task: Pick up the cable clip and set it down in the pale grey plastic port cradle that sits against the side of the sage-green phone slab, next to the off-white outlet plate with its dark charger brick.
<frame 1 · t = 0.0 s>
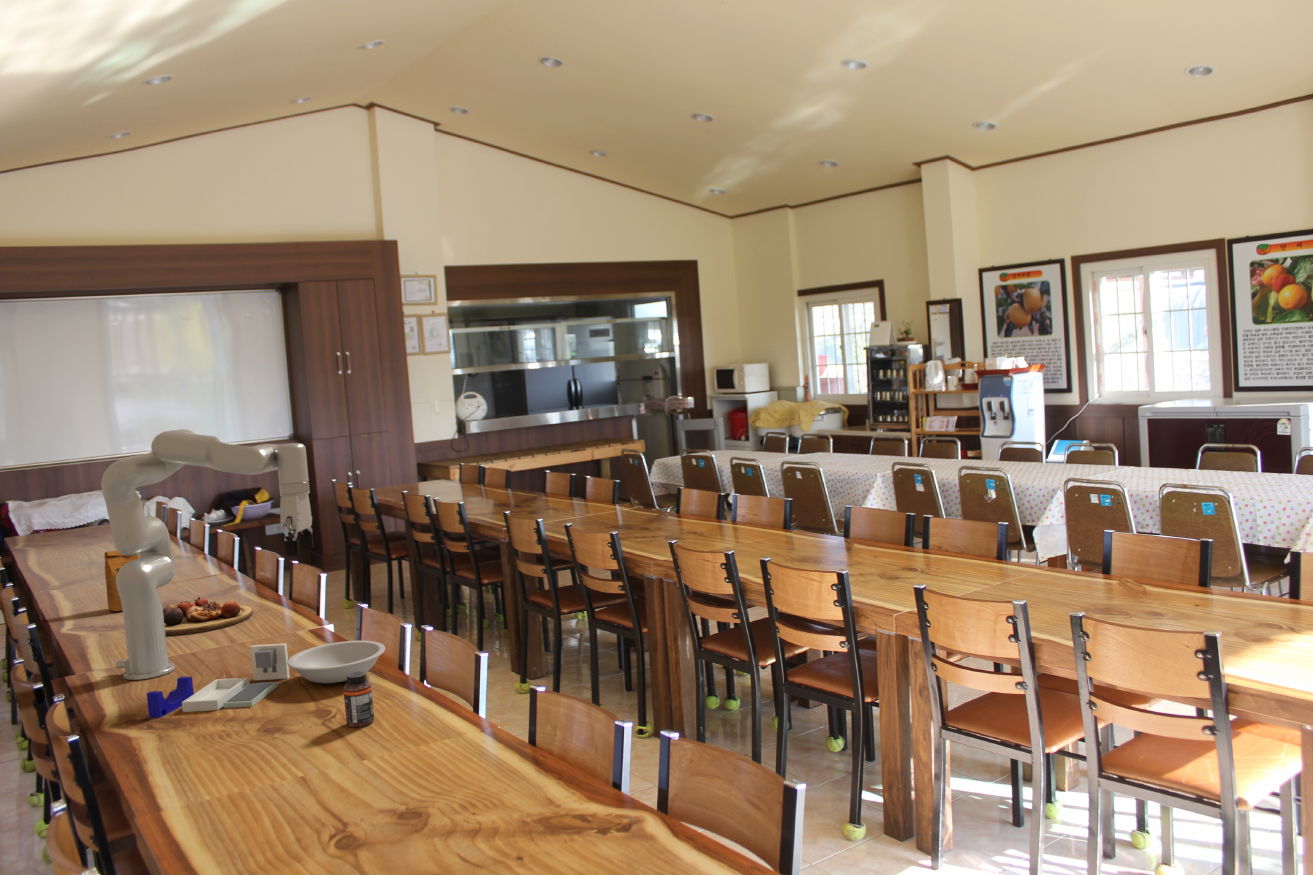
hand: (300, 551, 257), 31 cm above the table, fingers open, 9 cm apart
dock: (217, 698, 235), on the table
phone: (251, 696, 235), on the table
wooden plate with food: (201, 624, 316), on the table
outlet: (271, 678, 249), on the table
soup bowl: (339, 679, 245), on the table
supplement bottle: (360, 724, 211), on the table
coffee package: (128, 609, 344), on the table
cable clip: (169, 709, 230), on the table
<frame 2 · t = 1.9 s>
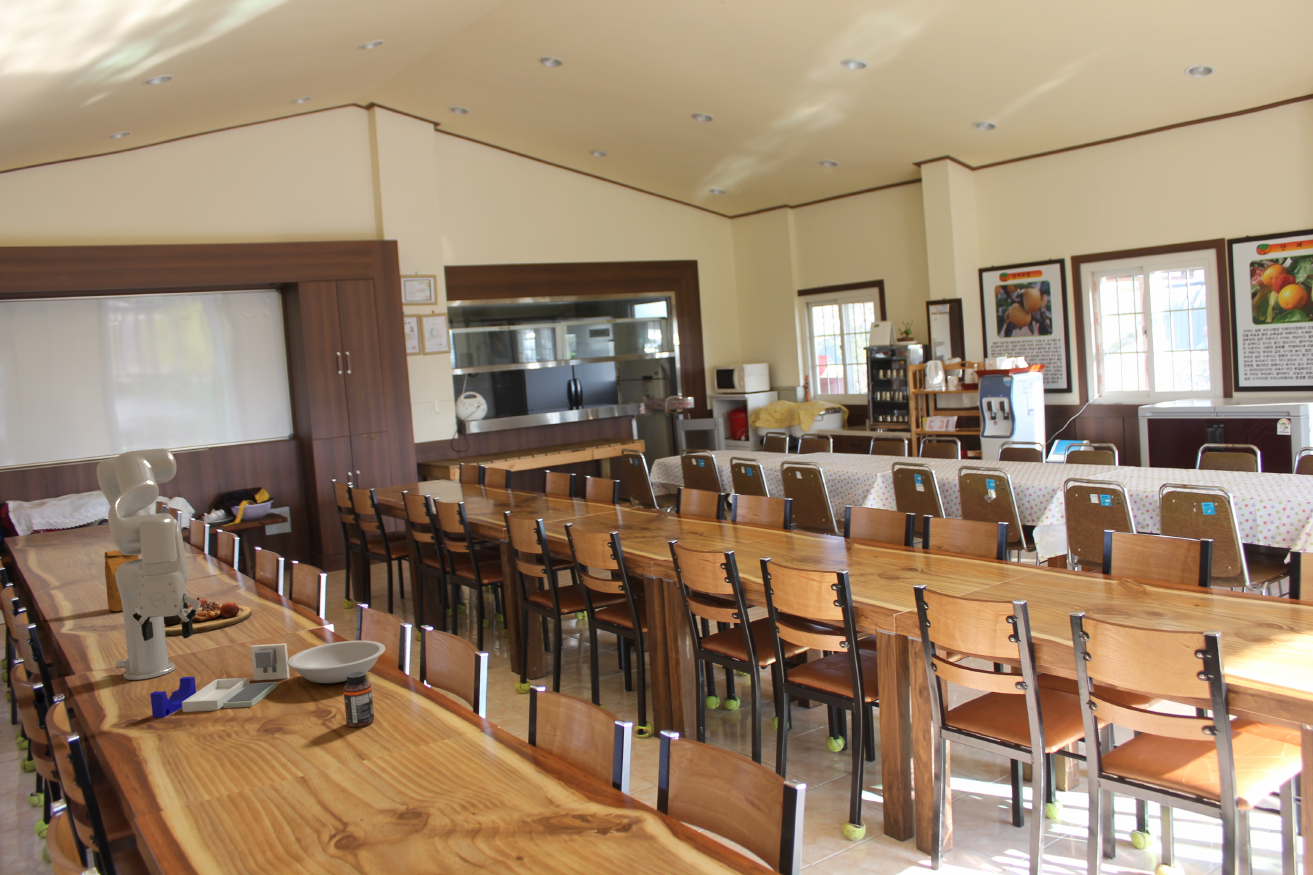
hand: (168, 638, 230), 17 cm above the table, fingers open, 9 cm apart
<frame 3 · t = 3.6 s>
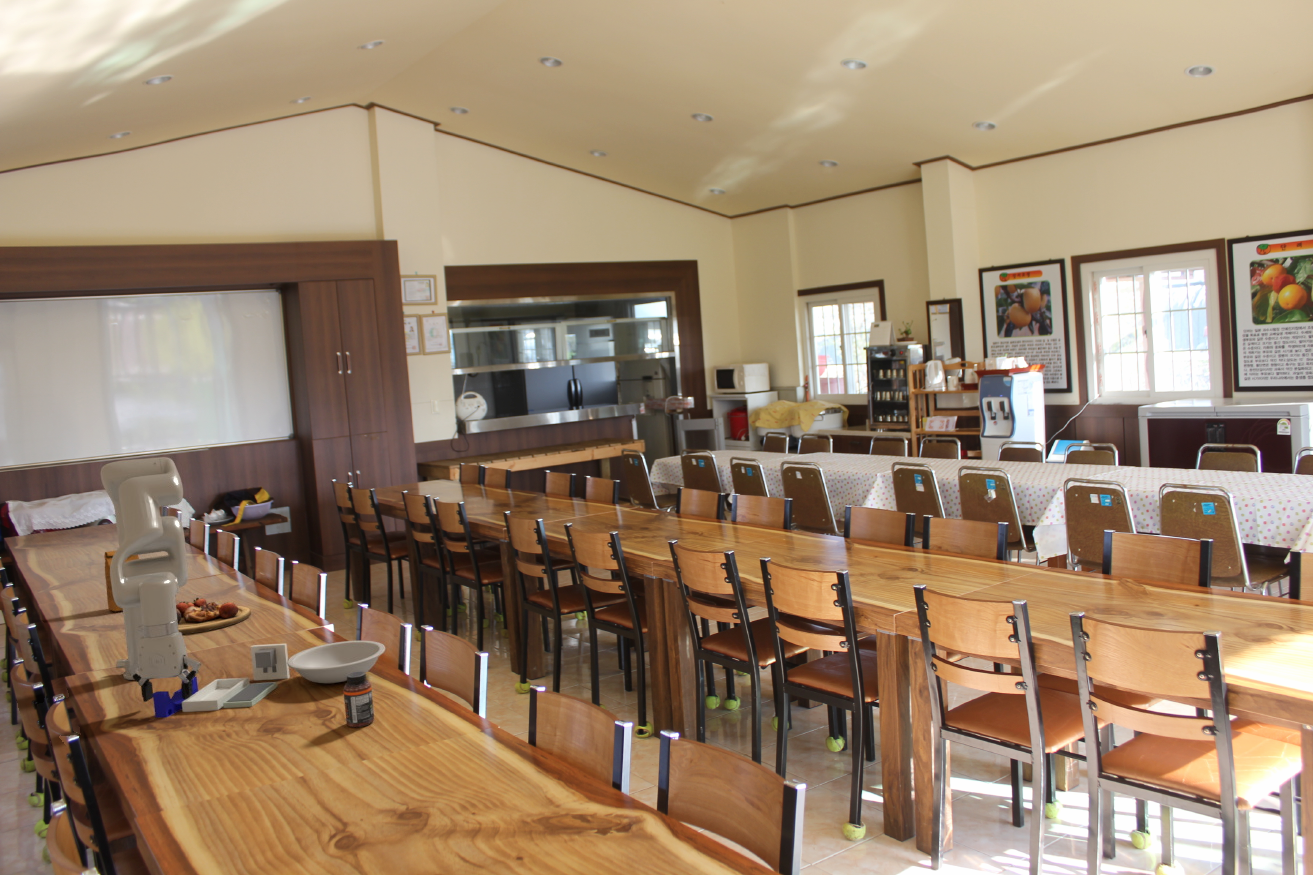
hand: (168, 698, 230), 2 cm above the table, fingers open, 9 cm apart
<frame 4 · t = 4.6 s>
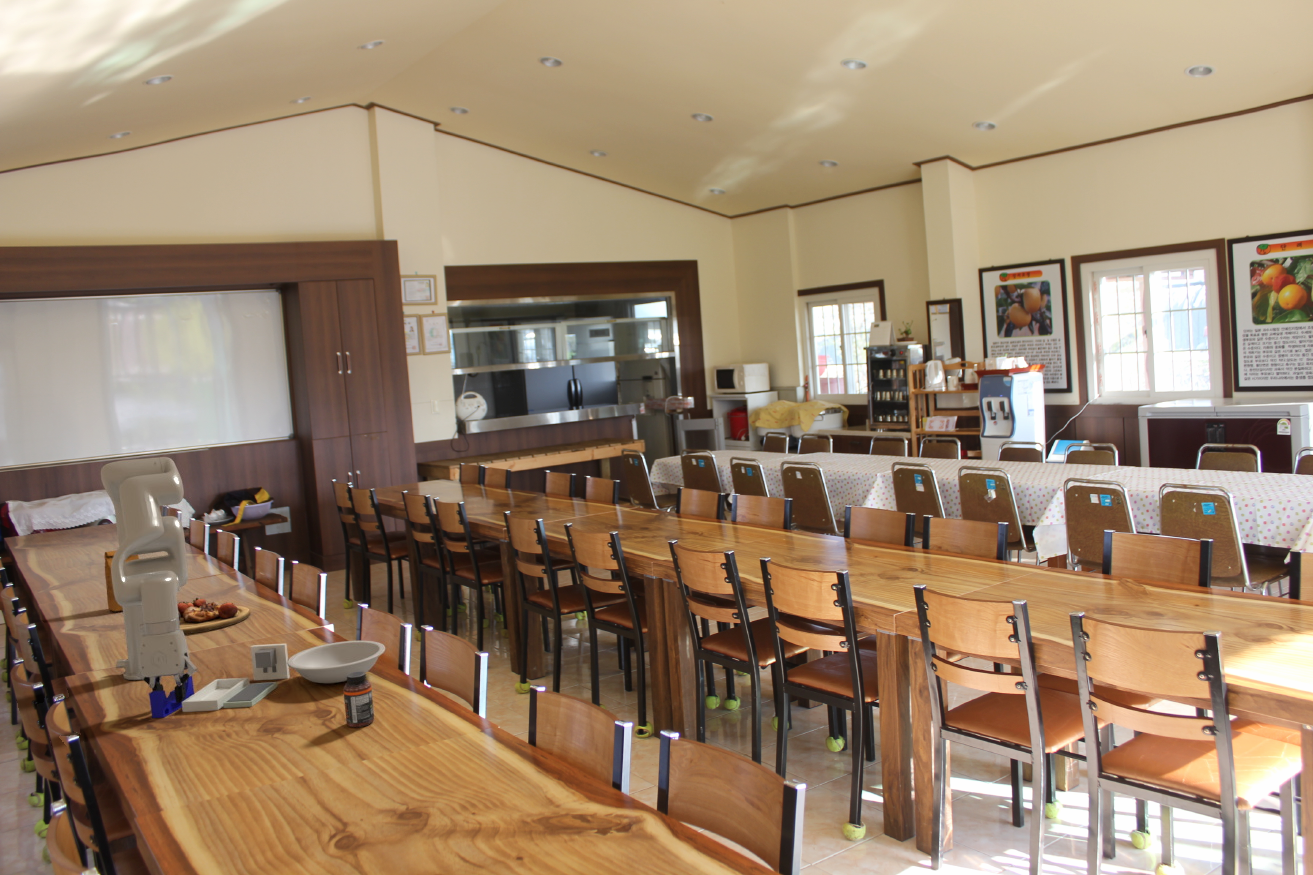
hand: (170, 700, 229), 2 cm above the table, fingers closed on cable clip, 4 cm apart
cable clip: (171, 709, 230), on the table, touching gripper
everything else where it was.
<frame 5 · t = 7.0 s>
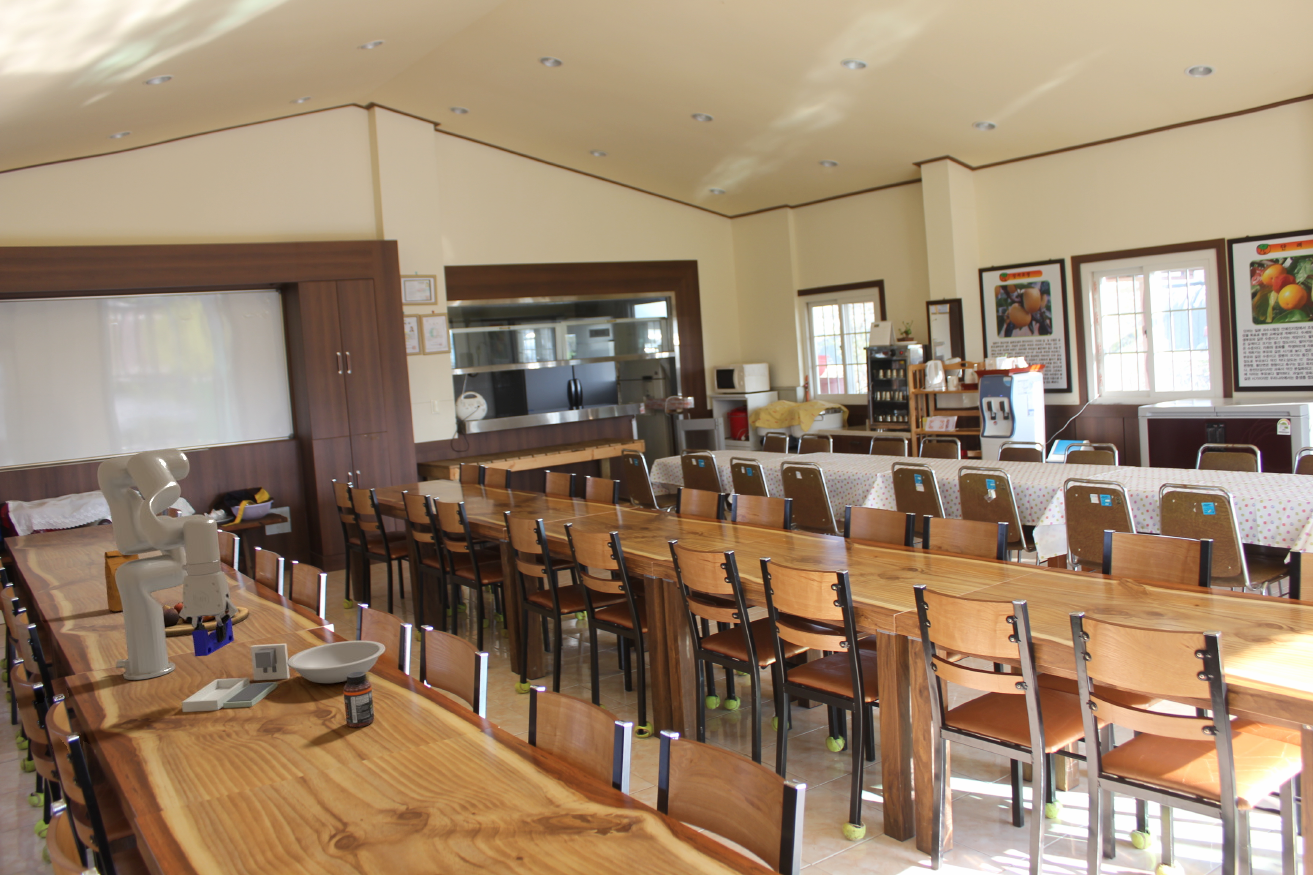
hand: (211, 640, 234), 15 cm above the table, fingers closed on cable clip, 4 cm apart
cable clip: (212, 649, 234), point 12 cm above the table, touching gripper
when the fingers open (3 cm above the table, at t = 9.7 s): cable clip stays where it is, resting on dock.
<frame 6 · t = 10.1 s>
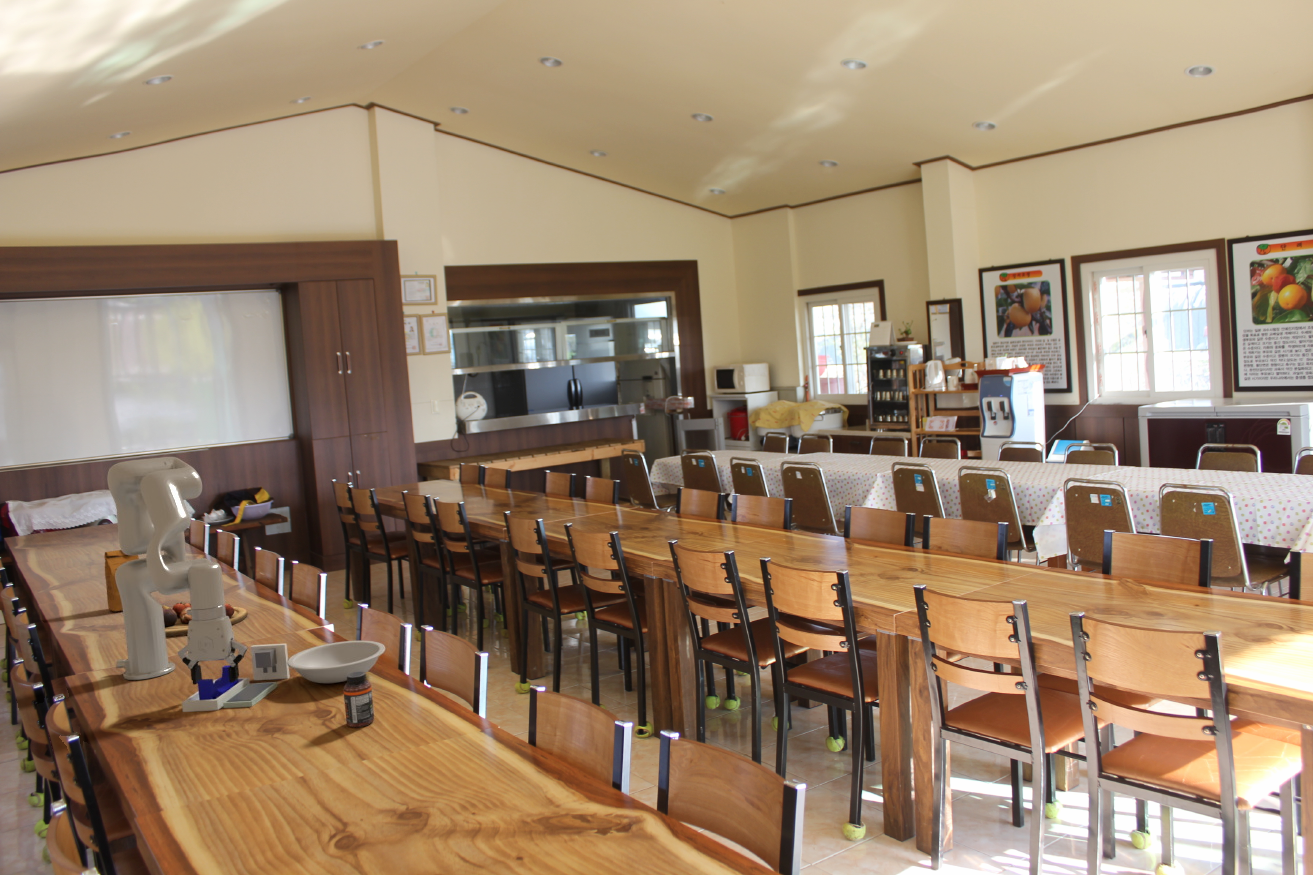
hand: (215, 681, 235), 4 cm above the table, fingers open, 8 cm apart
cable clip: (217, 697, 235), resting on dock
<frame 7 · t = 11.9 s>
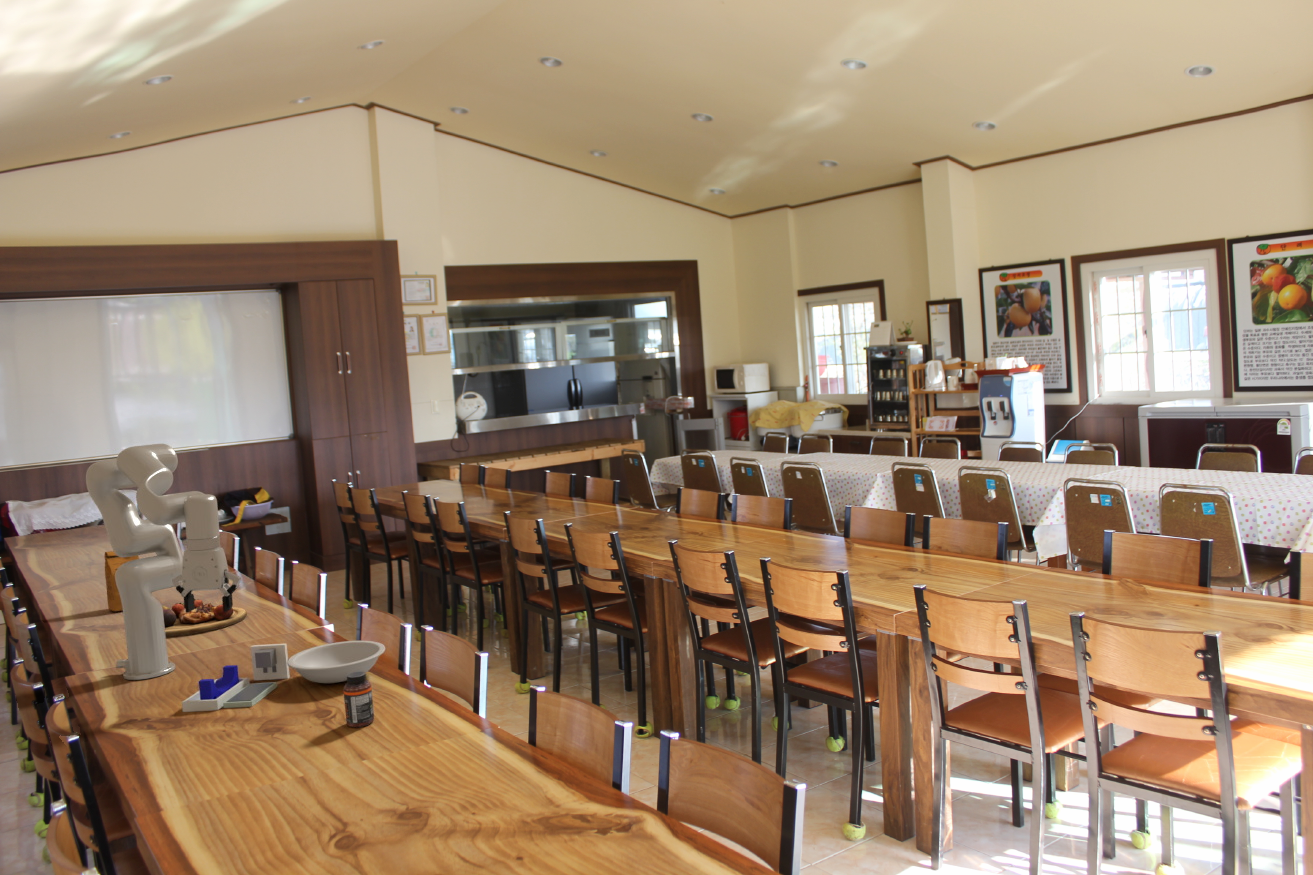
hand: (209, 610, 239), 21 cm above the table, fingers open, 9 cm apart
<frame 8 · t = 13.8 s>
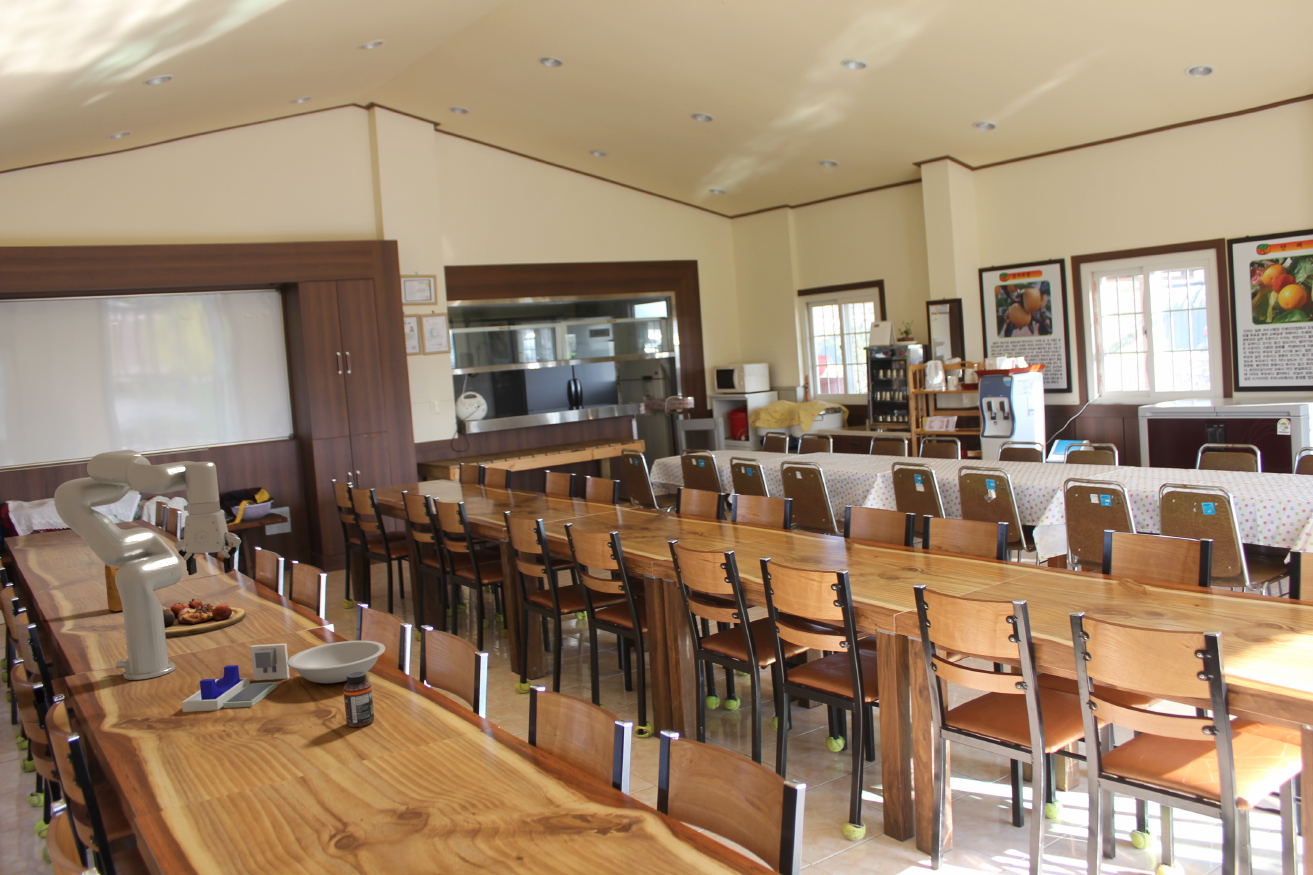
hand: (210, 573, 250), 28 cm above the table, fingers open, 9 cm apart
at the end: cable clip inside the target area on the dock (0.4 cm from its centre), point 0.2 cm above the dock's base; the gripper is holding nothing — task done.
